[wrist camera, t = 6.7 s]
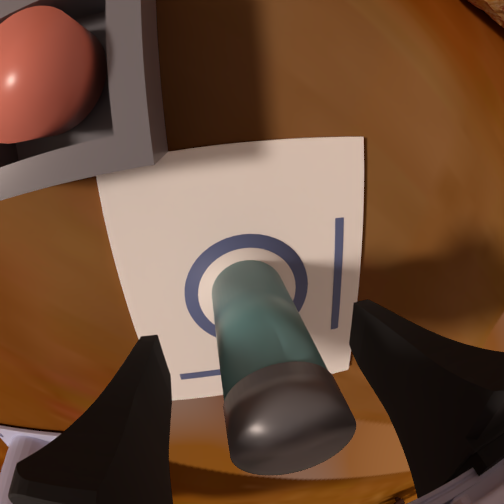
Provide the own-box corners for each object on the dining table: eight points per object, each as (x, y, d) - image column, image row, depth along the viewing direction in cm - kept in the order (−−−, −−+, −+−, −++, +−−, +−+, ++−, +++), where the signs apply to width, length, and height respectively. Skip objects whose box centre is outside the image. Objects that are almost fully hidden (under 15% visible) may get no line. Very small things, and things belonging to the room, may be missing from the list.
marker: (284, 316, 15) (346, 458, 8) (215, 327, 15) (237, 482, 7) (282, 253, 14) (365, 392, 6) (205, 264, 13) (220, 423, 6)
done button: (111, 121, 9) (86, 121, 7) (13, 149, 8) (-26, 160, 6) (105, 12, 7) (82, -14, 5) (7, 48, 7) (-31, 38, 4)
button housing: (168, 151, 12) (154, 164, 8) (19, 184, 11) (-33, 211, 7) (155, -10, 9) (141, -55, 5) (6, 38, 8) (-45, 23, 4)
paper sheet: (346, 366, 18) (348, 370, 17) (162, 397, 17) (162, 402, 16) (360, 136, 13) (364, 137, 12) (96, 164, 11) (93, 166, 11)
